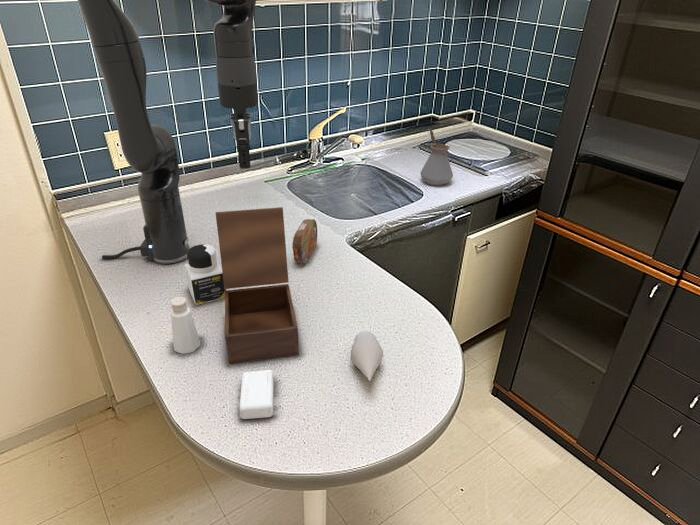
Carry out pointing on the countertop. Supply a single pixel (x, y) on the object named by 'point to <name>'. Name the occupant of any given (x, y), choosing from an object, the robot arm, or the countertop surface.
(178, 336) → the pepper shaker
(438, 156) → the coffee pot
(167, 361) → the countertop surface
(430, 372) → the countertop surface
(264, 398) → the soap
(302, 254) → the tin
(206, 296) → the medicine bottle
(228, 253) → the lid
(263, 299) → the box
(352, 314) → the countertop surface
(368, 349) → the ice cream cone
